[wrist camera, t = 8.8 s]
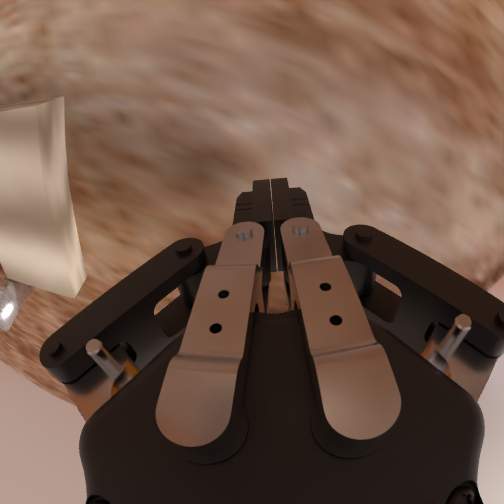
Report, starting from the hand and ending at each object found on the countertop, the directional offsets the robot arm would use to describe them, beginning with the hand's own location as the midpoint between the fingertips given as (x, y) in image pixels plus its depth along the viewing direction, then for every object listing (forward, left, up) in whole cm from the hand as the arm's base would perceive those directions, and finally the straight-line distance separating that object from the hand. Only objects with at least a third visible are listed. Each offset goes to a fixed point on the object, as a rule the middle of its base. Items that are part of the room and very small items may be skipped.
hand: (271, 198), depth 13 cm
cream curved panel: (-2, -17, -3) cm, 17 cm away
